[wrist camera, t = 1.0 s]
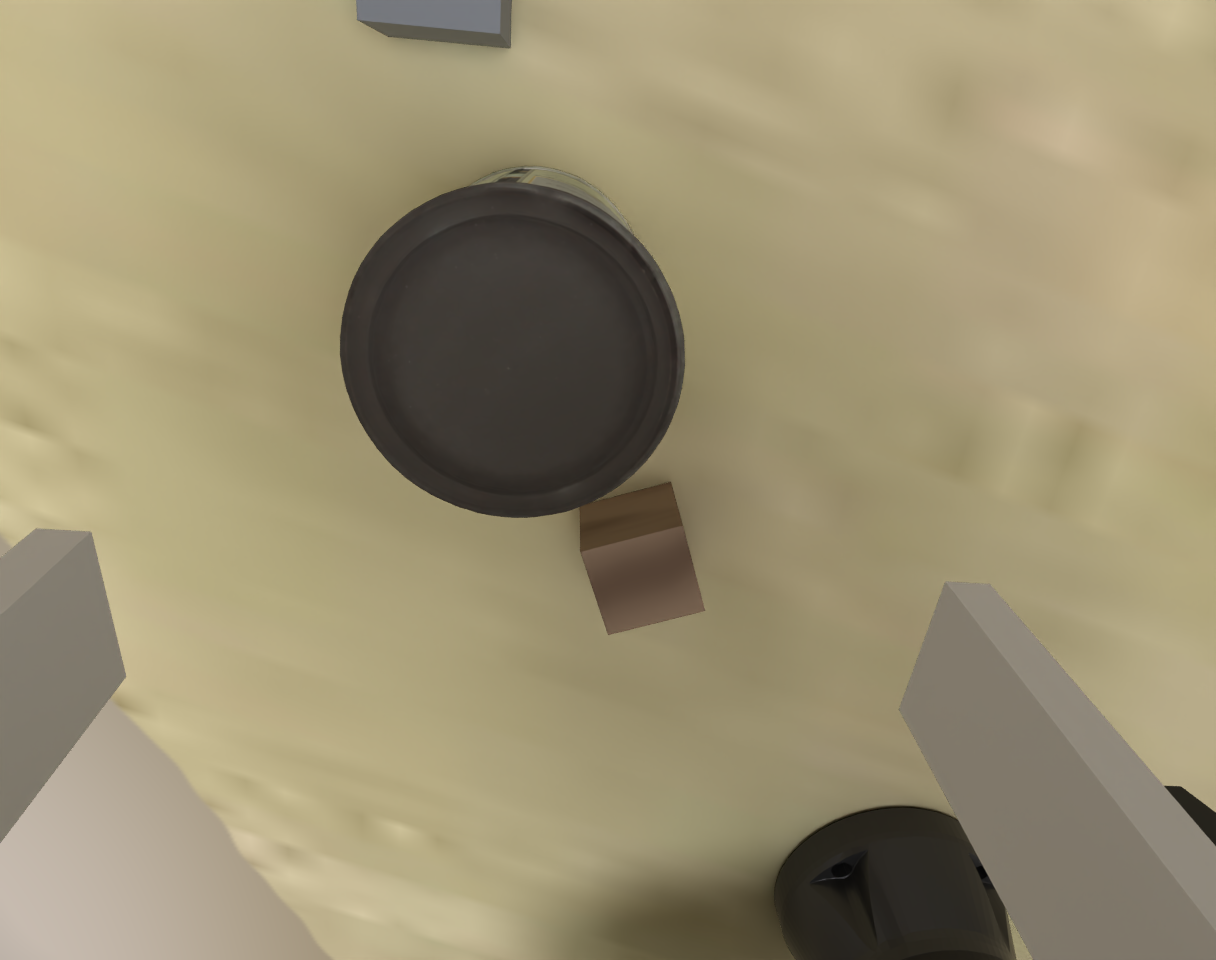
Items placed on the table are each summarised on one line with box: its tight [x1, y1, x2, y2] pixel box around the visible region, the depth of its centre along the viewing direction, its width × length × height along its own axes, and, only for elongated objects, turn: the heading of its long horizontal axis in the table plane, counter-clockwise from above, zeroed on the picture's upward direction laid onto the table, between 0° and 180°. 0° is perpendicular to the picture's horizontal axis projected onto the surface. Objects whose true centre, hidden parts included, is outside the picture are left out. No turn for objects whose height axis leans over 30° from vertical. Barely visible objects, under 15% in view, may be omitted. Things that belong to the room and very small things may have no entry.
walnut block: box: [580, 482, 705, 635], centre depth 39 cm, size 5×5×5 cm
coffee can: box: [340, 166, 685, 518], centre depth 29 cm, size 10×10×14 cm
